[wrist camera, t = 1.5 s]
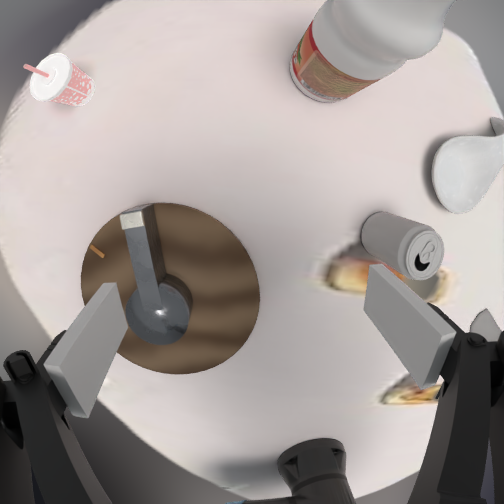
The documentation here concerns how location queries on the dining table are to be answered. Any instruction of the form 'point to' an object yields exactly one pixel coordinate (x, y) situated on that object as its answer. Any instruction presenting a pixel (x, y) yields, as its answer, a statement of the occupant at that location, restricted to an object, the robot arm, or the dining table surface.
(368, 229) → the beverage can
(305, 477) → the robot arm
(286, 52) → the dining table surface
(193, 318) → the dial board
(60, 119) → the dining table surface
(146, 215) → the dial
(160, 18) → the dining table surface
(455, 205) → the spoon rest
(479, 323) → the flask
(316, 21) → the fruit juice
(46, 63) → the beverage cup
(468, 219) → the dining table surface
